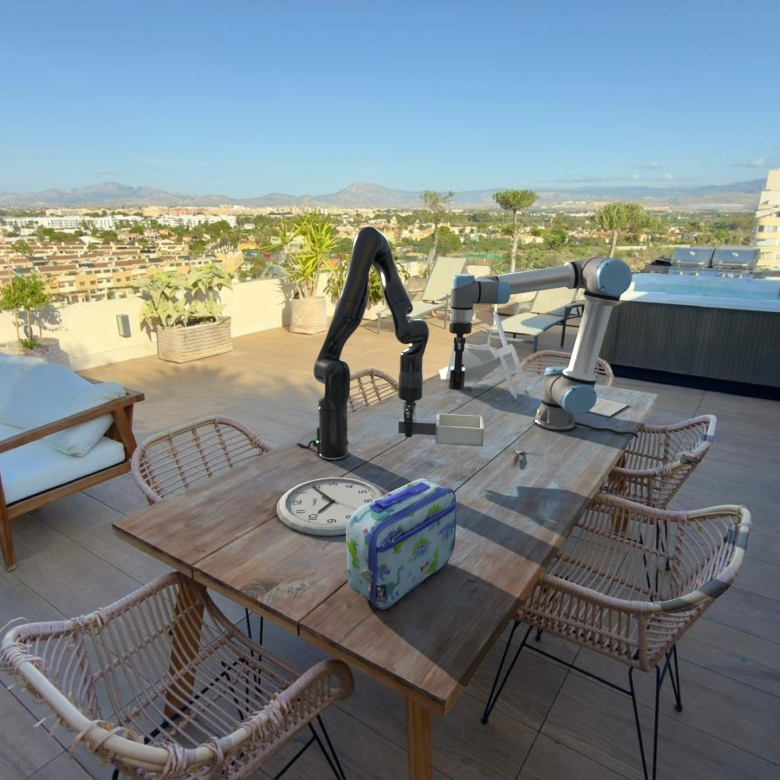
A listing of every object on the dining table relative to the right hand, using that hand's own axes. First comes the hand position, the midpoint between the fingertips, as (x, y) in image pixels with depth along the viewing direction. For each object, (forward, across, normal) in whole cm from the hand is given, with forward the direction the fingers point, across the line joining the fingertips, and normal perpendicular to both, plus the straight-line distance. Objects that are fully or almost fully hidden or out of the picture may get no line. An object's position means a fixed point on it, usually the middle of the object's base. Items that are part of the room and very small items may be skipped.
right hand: (456, 386), depth 183 cm
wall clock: (+20, +54, -32) cm, 65 cm away
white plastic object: (+20, -58, +11) cm, 62 cm away
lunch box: (+20, +82, -9) cm, 85 cm away
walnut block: (0, 0, 0) cm, 0 cm away
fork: (+20, +12, +22) cm, 32 cm away
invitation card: (+19, -47, +62) cm, 81 cm away
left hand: (+11, +21, -14) cm, 28 cm away
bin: (+11, +21, -4) cm, 24 cm away
